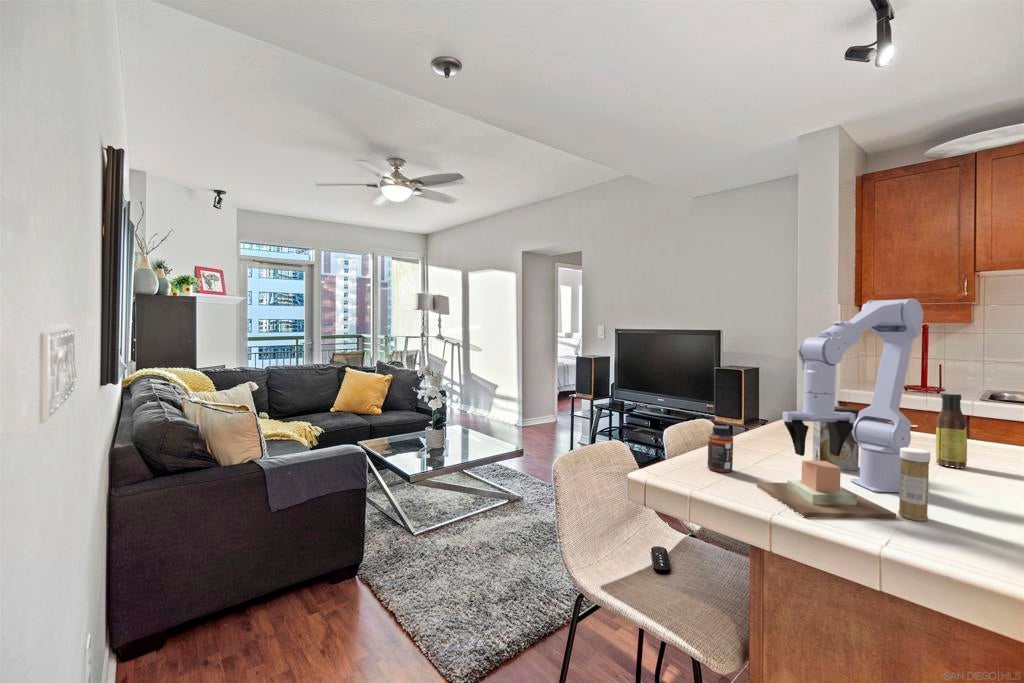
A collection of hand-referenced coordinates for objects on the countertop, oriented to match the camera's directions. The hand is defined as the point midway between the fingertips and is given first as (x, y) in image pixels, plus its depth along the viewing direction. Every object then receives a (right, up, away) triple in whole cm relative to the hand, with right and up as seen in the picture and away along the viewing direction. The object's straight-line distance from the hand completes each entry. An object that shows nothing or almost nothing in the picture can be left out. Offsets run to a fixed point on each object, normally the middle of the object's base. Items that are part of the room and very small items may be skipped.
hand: (817, 454), depth 104 cm
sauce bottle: (+54, -10, +27) cm, 61 cm away
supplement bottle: (-12, -9, +20) cm, 25 cm away
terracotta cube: (0, -7, -2) cm, 7 cm away
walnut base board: (0, -10, -2) cm, 10 cm away
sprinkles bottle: (+13, -10, -10) cm, 19 cm away
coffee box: (+21, -9, +25) cm, 34 cm away
